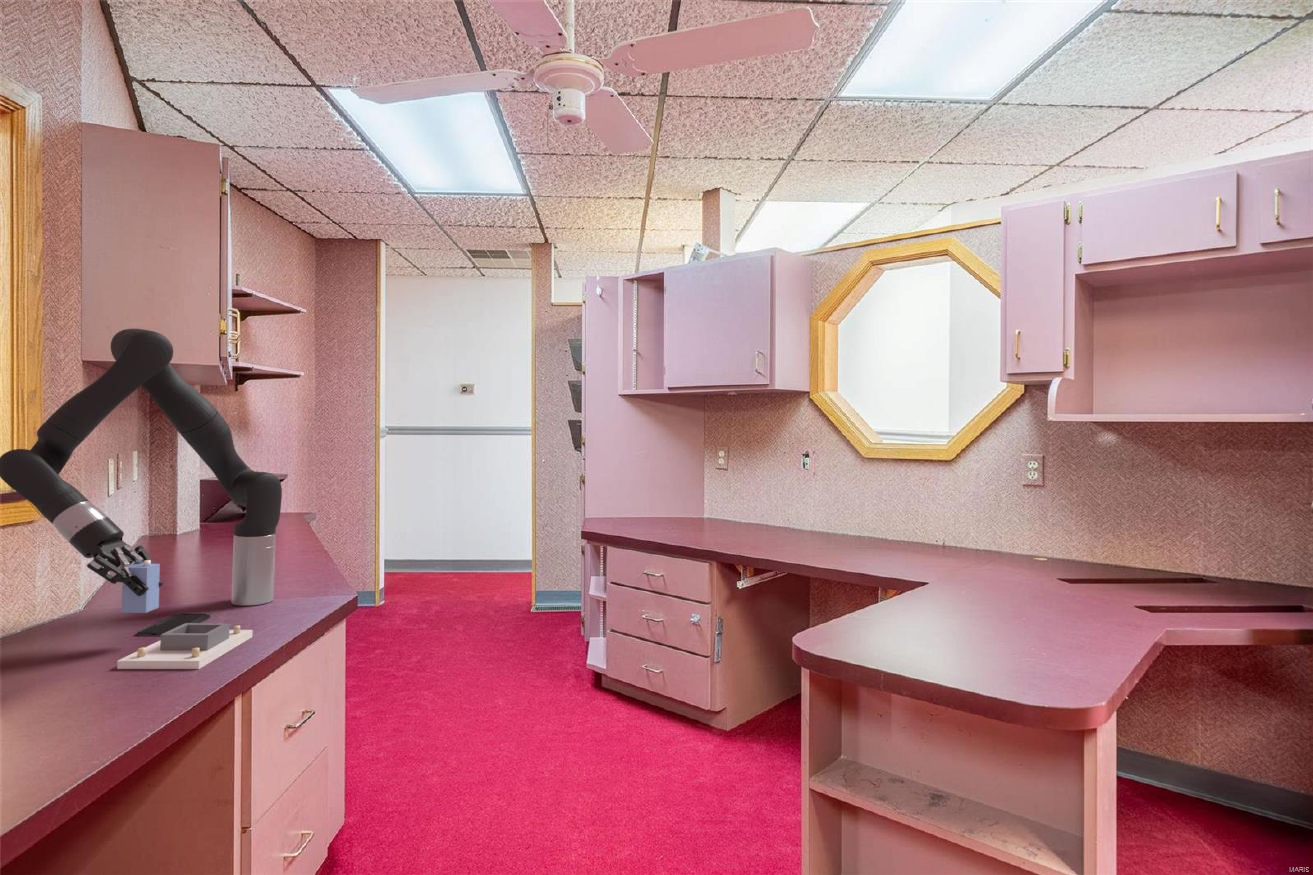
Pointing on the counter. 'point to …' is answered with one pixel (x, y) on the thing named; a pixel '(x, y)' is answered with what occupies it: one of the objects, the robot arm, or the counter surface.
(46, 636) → the counter surface
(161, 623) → the phone
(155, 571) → the block
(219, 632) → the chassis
